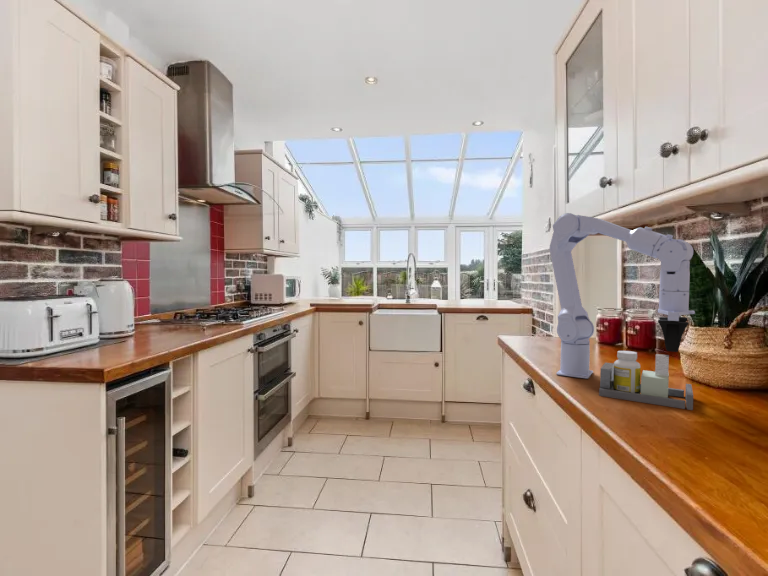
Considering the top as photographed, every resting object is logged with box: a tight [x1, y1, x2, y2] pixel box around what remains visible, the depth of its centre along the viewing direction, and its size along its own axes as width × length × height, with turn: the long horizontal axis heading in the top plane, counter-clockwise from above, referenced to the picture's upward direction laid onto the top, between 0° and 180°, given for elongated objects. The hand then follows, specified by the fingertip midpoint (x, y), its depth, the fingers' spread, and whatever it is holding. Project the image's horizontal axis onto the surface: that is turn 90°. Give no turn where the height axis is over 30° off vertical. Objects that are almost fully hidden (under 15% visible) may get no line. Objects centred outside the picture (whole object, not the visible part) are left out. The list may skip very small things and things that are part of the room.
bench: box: [598, 362, 694, 411], centre depth 95 cm, size 11×17×6 cm, turn 55°
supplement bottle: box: [613, 350, 641, 394], centre depth 97 cm, size 5×5×10 cm
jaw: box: [640, 353, 670, 398], centre depth 94 cm, size 7×5×10 cm
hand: (672, 349), depth 98 cm, fingers open, 7 cm apart
